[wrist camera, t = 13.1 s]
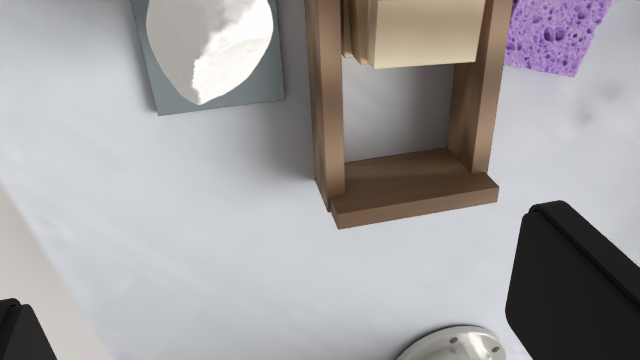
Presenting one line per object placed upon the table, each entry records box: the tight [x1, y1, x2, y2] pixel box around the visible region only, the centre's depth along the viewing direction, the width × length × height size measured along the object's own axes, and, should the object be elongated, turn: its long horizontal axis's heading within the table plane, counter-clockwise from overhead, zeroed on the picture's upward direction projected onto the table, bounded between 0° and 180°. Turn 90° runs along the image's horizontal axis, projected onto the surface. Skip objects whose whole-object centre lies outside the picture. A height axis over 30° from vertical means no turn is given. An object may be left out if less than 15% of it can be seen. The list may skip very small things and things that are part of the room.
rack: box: [305, 0, 513, 230], centre depth 32 cm, size 16×11×6 cm
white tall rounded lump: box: [146, 0, 273, 105], centre depth 24 cm, size 6×12×6 cm
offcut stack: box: [340, 0, 485, 69], centre depth 30 cm, size 5×8×6 cm, turn 93°
